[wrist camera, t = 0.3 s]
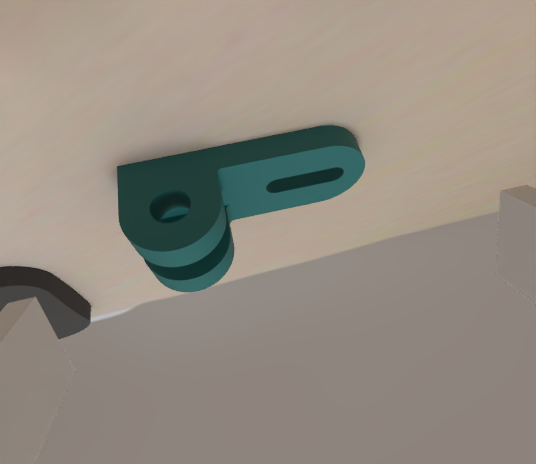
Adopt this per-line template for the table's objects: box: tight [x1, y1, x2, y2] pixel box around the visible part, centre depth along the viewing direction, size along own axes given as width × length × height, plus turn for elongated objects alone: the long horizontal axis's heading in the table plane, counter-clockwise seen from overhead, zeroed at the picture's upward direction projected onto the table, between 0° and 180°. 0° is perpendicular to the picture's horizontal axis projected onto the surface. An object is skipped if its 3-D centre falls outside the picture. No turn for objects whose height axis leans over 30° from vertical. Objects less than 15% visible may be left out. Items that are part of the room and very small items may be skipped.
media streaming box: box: [0, 267, 91, 339], centre depth 40 cm, size 15×15×3 cm
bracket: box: [117, 126, 365, 292], centre depth 29 cm, size 18×7×8 cm, turn 93°
